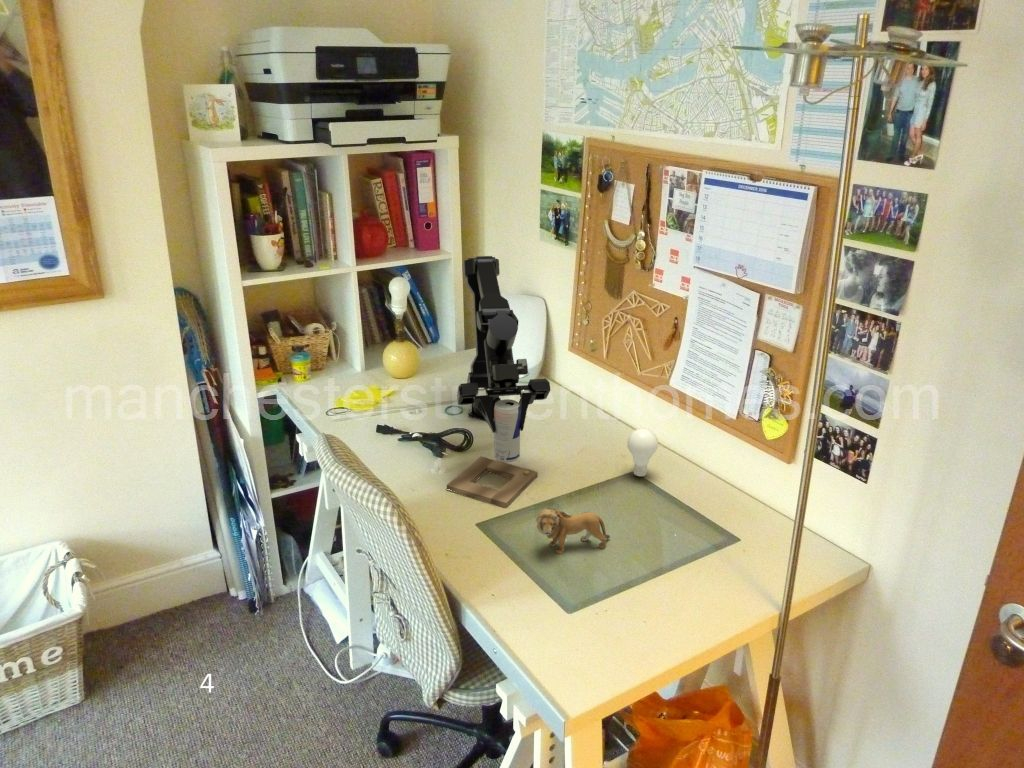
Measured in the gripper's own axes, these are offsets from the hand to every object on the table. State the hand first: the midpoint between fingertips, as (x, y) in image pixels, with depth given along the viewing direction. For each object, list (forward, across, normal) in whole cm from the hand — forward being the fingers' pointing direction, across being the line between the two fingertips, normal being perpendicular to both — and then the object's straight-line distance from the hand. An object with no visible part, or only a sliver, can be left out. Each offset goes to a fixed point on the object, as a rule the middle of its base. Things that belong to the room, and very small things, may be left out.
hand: (508, 431), depth 153 cm
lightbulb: (+10, +29, +9) cm, 31 cm away
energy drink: (+4, 0, +6) cm, 7 cm away
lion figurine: (+26, +8, -8) cm, 28 cm away
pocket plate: (+8, -3, +10) cm, 13 cm away
